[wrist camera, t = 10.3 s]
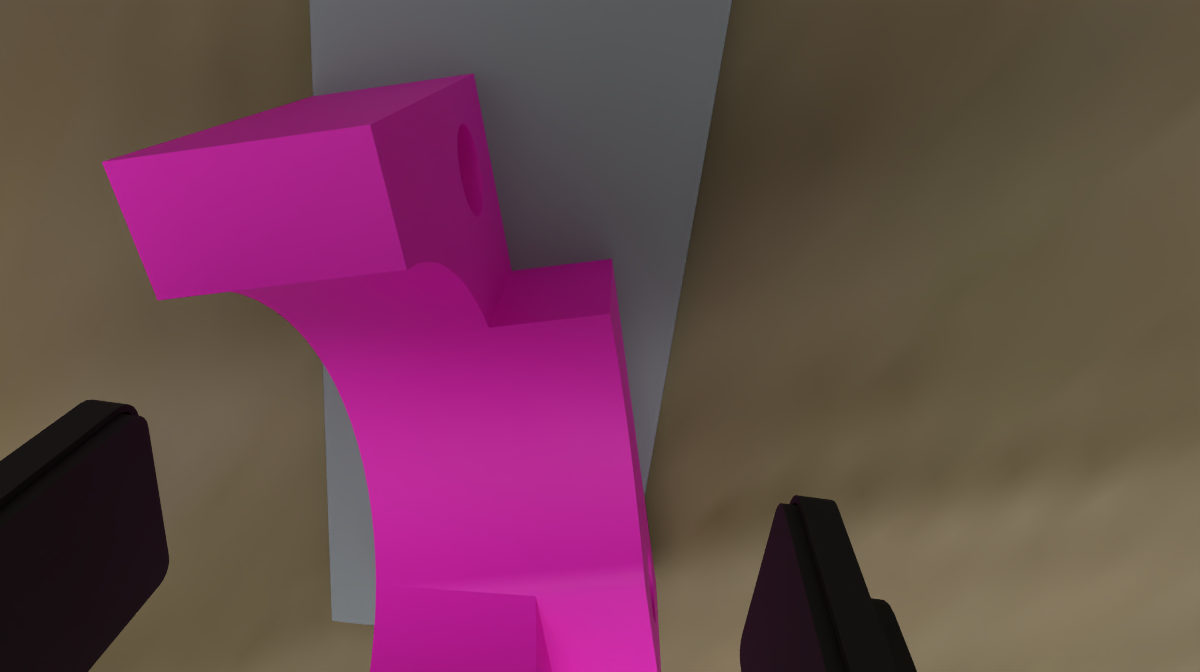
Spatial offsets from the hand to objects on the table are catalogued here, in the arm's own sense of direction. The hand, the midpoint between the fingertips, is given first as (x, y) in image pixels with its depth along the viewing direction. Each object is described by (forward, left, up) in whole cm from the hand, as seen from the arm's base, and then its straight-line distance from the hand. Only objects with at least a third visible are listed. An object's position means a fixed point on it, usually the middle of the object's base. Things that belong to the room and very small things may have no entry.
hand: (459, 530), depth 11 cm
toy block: (0, +2, -9) cm, 9 cm away
